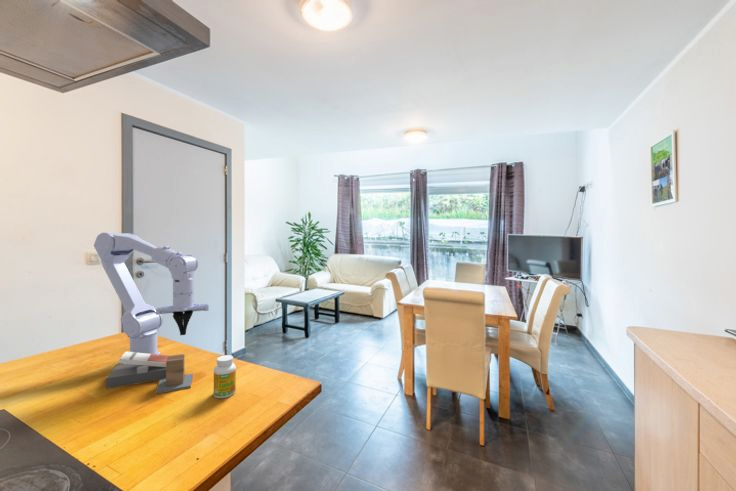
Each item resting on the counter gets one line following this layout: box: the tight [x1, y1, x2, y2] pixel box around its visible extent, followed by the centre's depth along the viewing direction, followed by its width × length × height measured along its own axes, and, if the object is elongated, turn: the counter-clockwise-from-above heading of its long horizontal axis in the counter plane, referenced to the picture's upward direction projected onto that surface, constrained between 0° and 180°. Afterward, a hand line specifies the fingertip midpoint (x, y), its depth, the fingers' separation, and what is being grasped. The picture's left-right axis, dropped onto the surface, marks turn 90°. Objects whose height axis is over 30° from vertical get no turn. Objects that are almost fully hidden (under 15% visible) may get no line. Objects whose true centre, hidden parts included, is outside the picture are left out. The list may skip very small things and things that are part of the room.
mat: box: [155, 373, 194, 394], centre depth 85 cm, size 8×8×1 cm
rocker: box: [118, 350, 170, 367], centre depth 89 cm, size 6×12×1 cm, turn 116°
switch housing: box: [105, 363, 166, 389], centre depth 89 cm, size 9×16×4 cm, turn 116°
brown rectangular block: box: [166, 353, 185, 387], centre depth 85 cm, size 4×4×7 cm
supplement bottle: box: [213, 354, 237, 399], centre depth 80 cm, size 5×5×10 cm
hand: (183, 334), depth 97 cm, fingers closed
